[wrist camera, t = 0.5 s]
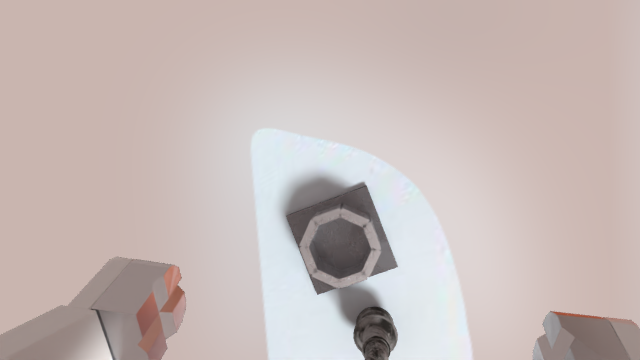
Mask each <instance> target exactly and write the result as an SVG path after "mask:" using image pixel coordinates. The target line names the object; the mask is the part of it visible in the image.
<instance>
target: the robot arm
mask: <svg viewBox="0 0 640 360" xmlns="http://www.w3.org/2000/svg"><path fill="white" fill-rule="evenodd" d="M181 278H182V277H181V274H180V270H179V267H177V266H175V265H171V264H165V263H158V262H151V261H144V260H137V259H128V258H122V257H115V258H112V259H110V260H109V261H108V262H107V263H106V264H105V265H104V266H103V268H102V269H101V270H100V271H99V272H98V273H97V274H96V275H95V277H94V278H93V279H92V280H91V281H90V282H89V283H88V284H87V285H86V286H85V287H84V288H83V289H82V291H81V292H80V293H79V294H78V295H77V296H76V297H75V298H74V299H73V300H72V302H71V303H70V304H69V305H68V306H59V307H57V308H55V309H53V310H51V311H49V312H46V313H45V314H43V315H40V316H38V317H36V318H35V319H32V320H30V321H28V322H26V323H24V324H22V325H20V326H18V327H16V328H14V329H12V330H10V331H8V332H6V333H3V334H1V335H0V360H161V359H162V357H163V355H164V353H165V352H166V350H167V344H166V339H167V338H169V337H170V336H172V335H173V334H175V333H176V332H177V331H178V329H179V327H180V325H181V323H182V321H183V317H184V314H185V310H186V297H185V292H184V291H183V290H182V289H181V288H180V287H179V286H178V285H177V284H178V283H179V281H180V280H181ZM543 327H544V330H545V332H546V334H544V335H543V336H541V337H539V338H538V339H537V340H536V343H535V346H534V350H533V360H640V329H639V327H638V326H637V324H635V323H634V322H633V321H632V320H625V319H617V318H607V317H603V318H602V317H597V316H589V315H580V314H571V313H562V312H553V311H550V312H549V313H548V314H547V315H546V317H545V319H544V322H543Z"/></svg>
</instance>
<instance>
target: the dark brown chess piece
mask: <svg viewBox="0 0 640 360" xmlns="http://www.w3.org/2000/svg"><path fill="white" fill-rule="evenodd" d="M397 336H398V334H397V330H396V328H395V326H394V323H393V319H392V317H391V316H390V314H389V313H388V312H387V311H386V310H384V309H382V308H379V307H370V308H367V309H365V310H363V311H362V312H361V313H360V314H359V316H358V318H357V321H356V326H355V329H354V341H355V344H356V346H357V347H358V349H359V350H360V351H361V352H362V353H363V356H364V358H365V360H388V357H389V355H390V352H391V351H392V350H393V349H394V347H395V346H396V343H397Z"/></svg>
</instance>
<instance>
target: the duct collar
mask: <svg viewBox="0 0 640 360" xmlns="http://www.w3.org/2000/svg"><path fill="white" fill-rule="evenodd" d="M286 217H287V219H288V222H289V224H290V227H291V229H292V232H293V234H294V237H295V239H296V242H297V244H298V247H299V250H300V252H301V255H302V257H303V260H304V262H305V265H306V267H307V270H308V272H309V275H310V277H311V280H312V282H313V285H314V287H315V290H316V292H317V295H318V294H321V293H324V292H327V291H330V290H333V289H336V288H338V287H340V289H341V288H343V287H346V286H349V285H352V284H355V283H358V282H361V281H364V280H367V277H370V276H373V275H376V274H379V273H382V272H385V271H388V270H390V269H393V268H396V267H398V266H397V263H396V261H395V258H394V256H393V253H392V250H391V248H390V245H389V243H388V240H387V237H386V235H385V232H384V230H383V227H382V224H381V222H380V219H379V217H378V214H377V212H376V209H375V206H374V204H373V201H372V199H371V196H370V193H369V191H368V188H367V186H365V187H362V188H359V189H357V190H354V191H351V192H349V193H346V194H343V195H341V196H338V197H335V198H333V199H330V200H327V201H325V202H322V203H319V204H317V205H314V206H312V207H309V208H306V209H304V210H301V211H298V212H296V213H293V214H290V215H288V216H286Z"/></svg>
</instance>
